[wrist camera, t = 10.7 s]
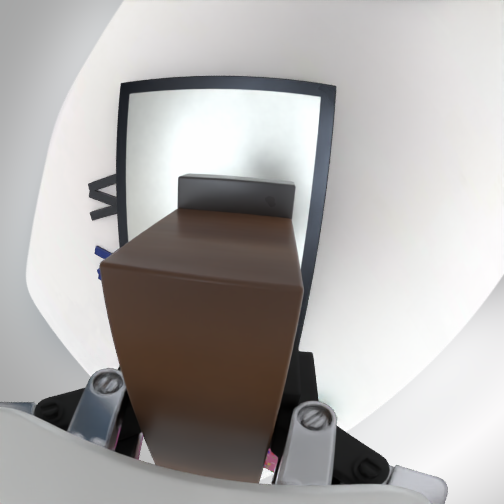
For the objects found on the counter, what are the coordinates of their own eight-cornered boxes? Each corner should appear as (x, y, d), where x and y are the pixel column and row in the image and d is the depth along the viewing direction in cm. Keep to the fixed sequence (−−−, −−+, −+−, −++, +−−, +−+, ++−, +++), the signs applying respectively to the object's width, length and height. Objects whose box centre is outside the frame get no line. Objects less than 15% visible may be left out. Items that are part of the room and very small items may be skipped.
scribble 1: (89, 174, 20) (87, 174, 20) (120, 173, 20) (117, 173, 19) (92, 219, 21) (90, 220, 21) (121, 221, 21) (119, 222, 21)
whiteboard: (125, 84, 17) (119, 82, 16) (334, 88, 16) (337, 85, 15) (138, 350, 26) (135, 356, 25) (290, 373, 25) (290, 380, 24)
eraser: (187, 172, 9) (91, 207, 4) (294, 181, 9) (315, 225, 4) (195, 418, 14) (171, 499, 9) (258, 427, 14) (249, 512, 9)
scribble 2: (95, 245, 22) (93, 246, 22) (124, 248, 22) (122, 250, 22) (101, 287, 24) (99, 288, 23) (129, 292, 23) (127, 293, 23)
